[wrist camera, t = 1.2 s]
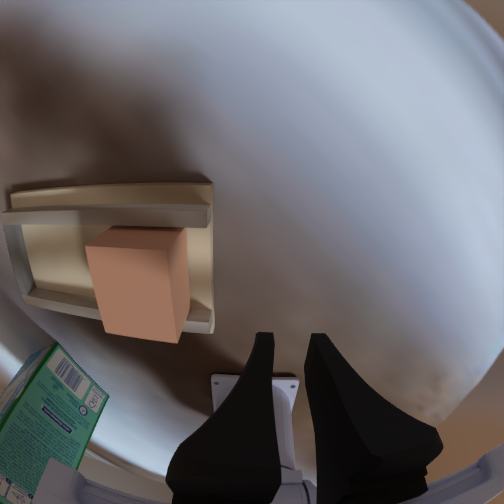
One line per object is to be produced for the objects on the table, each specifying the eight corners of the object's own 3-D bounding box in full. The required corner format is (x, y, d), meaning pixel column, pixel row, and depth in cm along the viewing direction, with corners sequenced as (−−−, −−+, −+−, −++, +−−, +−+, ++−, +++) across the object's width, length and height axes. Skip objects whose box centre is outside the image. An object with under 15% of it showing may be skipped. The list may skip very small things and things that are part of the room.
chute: (214, 325, 21) (210, 346, 19) (41, 300, 22) (28, 314, 19) (213, 182, 17) (206, 190, 15) (17, 191, 17) (-2, 199, 15)
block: (190, 306, 19) (177, 343, 16) (127, 300, 19) (105, 332, 16) (186, 225, 17) (167, 250, 13) (116, 223, 17) (84, 245, 13)
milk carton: (74, 402, 29) (15, 538, 6) (29, 356, 26) (-52, 490, 2) (110, 396, 27) (47, 567, 4) (57, 341, 24) (-42, 516, 1)
